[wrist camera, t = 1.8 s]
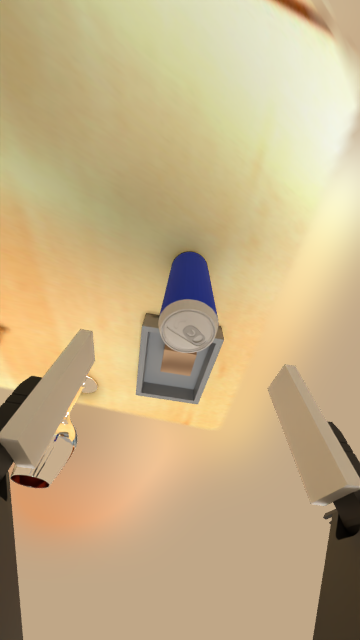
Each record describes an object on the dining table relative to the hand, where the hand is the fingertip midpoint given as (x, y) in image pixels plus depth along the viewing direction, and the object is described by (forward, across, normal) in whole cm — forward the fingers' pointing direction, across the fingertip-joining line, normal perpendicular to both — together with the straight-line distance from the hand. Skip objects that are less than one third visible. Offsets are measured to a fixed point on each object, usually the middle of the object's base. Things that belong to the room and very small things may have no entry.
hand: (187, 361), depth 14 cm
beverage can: (+18, 0, 0) cm, 18 cm away
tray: (+18, +1, -18) cm, 25 cm away
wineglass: (+18, -18, -31) cm, 40 cm away
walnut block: (+17, +1, -13) cm, 22 cm away
